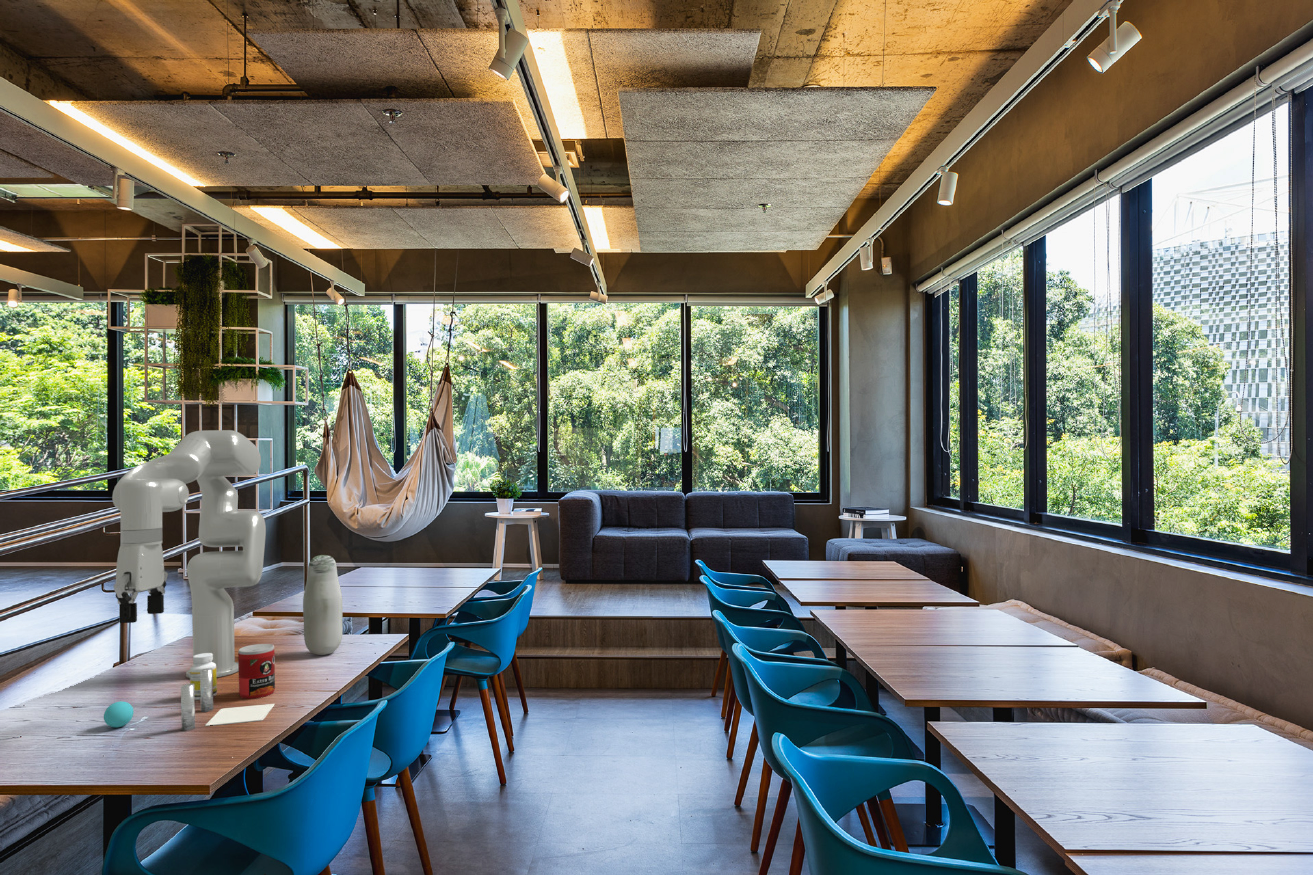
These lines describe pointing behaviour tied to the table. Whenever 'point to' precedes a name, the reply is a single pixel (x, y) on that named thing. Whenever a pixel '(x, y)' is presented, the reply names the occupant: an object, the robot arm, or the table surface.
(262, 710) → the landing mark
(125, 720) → the ball
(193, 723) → the post
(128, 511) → the robot arm
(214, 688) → the supplement bottle
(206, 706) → the post
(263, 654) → the canned food
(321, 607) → the grey bottle
